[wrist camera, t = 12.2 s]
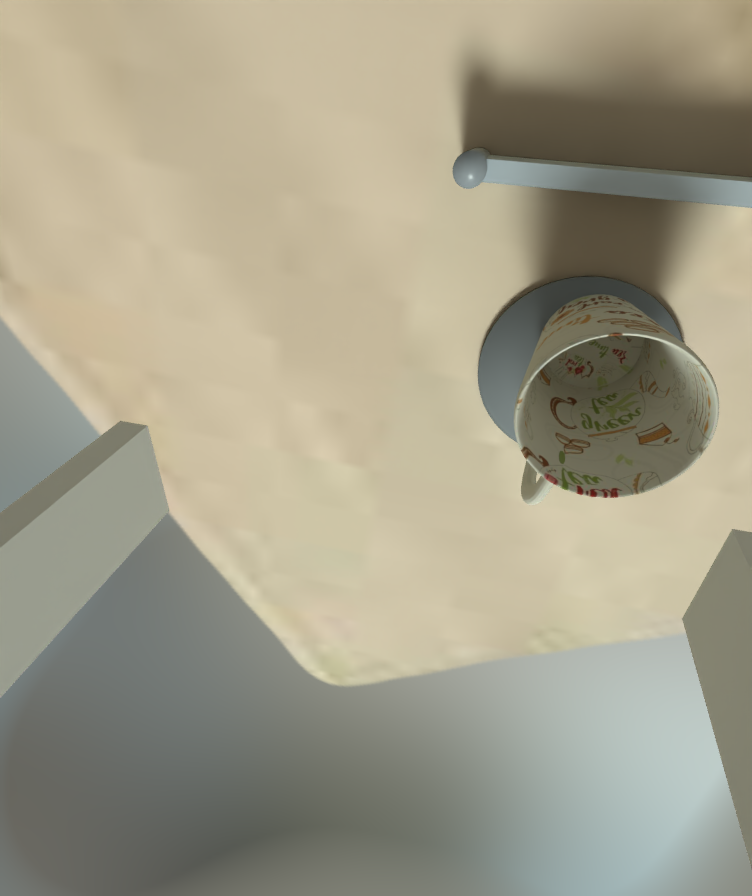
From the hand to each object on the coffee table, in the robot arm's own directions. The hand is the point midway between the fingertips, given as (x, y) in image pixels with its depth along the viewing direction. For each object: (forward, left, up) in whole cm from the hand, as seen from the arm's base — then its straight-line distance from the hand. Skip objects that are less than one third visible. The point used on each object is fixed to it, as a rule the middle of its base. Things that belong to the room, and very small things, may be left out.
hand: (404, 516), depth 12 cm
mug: (+5, +6, -23) cm, 24 cm away
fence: (-6, +7, -23) cm, 25 cm away
